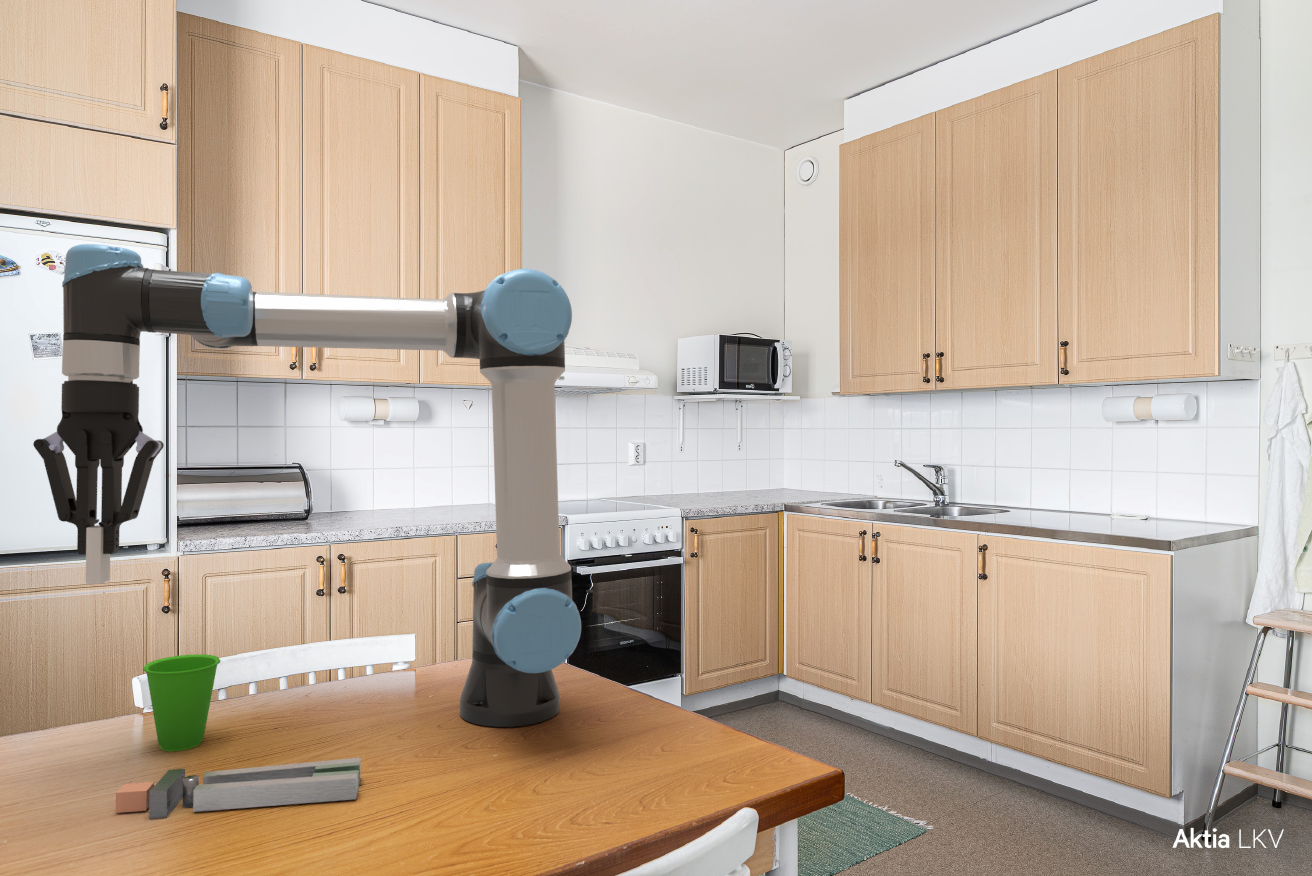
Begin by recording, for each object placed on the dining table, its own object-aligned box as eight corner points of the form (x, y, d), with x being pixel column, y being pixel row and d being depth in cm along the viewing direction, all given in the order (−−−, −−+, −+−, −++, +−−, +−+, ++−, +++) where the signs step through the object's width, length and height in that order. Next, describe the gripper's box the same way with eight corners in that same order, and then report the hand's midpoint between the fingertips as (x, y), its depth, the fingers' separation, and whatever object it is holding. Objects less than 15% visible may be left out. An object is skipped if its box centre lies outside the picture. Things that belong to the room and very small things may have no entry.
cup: (185, 760, 106) (186, 674, 106) (124, 753, 108) (126, 669, 108) (234, 735, 115) (235, 656, 115) (177, 730, 117) (178, 652, 117)
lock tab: (154, 801, 94) (154, 781, 94) (146, 810, 91) (146, 790, 91) (124, 803, 93) (124, 783, 93) (115, 812, 91) (116, 792, 91)
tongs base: (361, 781, 100) (361, 756, 100) (355, 802, 95) (355, 776, 95) (168, 795, 96) (168, 769, 96) (149, 818, 90) (149, 791, 90)
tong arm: (360, 777, 101) (360, 757, 101) (359, 784, 99) (359, 764, 99) (205, 792, 96) (205, 771, 96) (200, 801, 94) (201, 780, 94)
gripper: (174, 384, 102) (170, 575, 102) (53, 380, 99) (49, 578, 99) (151, 380, 94) (147, 586, 94) (20, 376, 92) (16, 589, 91)
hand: (97, 582), depth 97 cm, fingers closed
